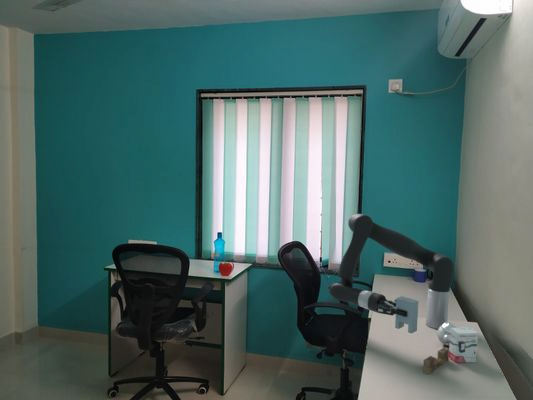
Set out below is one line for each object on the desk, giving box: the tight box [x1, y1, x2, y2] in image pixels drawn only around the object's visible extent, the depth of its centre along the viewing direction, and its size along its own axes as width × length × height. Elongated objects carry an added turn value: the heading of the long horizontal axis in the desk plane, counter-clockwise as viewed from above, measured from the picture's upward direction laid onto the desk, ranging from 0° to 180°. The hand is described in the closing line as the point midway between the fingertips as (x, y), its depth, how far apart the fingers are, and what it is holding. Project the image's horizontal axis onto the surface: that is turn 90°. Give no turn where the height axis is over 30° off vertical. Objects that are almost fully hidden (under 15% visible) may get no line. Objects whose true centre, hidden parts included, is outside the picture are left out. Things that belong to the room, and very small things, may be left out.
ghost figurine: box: [436, 321, 457, 347], centre depth 169 cm, size 9×10×10 cm
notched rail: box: [422, 347, 450, 375], centre depth 152 cm, size 16×2×4 cm, turn 132°
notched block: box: [394, 295, 419, 334], centre depth 160 cm, size 4×7×12 cm, turn 42°
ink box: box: [448, 326, 479, 363], centre depth 157 cm, size 8×5×12 cm, turn 98°
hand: (409, 312), depth 159 cm, fingers closed on notched block, 4 cm apart
